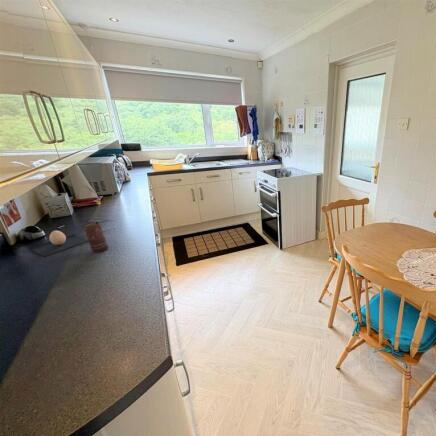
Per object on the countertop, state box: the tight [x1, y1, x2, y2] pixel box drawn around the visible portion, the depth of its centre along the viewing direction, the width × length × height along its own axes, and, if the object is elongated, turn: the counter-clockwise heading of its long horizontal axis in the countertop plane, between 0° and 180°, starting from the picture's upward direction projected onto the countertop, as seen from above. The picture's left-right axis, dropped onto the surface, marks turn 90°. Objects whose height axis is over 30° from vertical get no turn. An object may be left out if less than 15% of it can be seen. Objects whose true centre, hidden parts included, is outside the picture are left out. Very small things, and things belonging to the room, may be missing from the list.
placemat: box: [28, 234, 89, 258], centre depth 118 cm, size 18×16×1 cm
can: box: [83, 221, 109, 254], centre depth 111 cm, size 6×6×14 cm
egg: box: [48, 230, 67, 245], centre depth 116 cm, size 6×6×8 cm
